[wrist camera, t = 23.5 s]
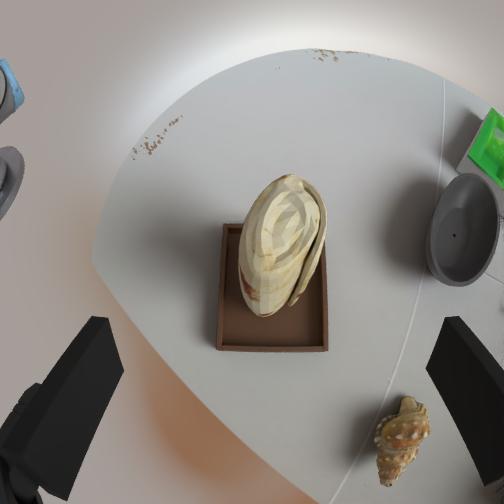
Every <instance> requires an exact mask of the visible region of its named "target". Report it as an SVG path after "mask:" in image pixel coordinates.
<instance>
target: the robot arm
mask: <svg viewBox="0 0 504 504" xmlns="http://www.w3.org/2000/svg"><path fill="white" fill-rule="evenodd" d="M23 102H24V94H23V92H22V90H21V88H20V86H19V84H18V82H17V80H16V78H15V76H14V74H13V72H12V70H11V68H10V66H9V65H8V63H7V62H6V60H5V59H1V60H0V124H1V123H2V122H3V121H4V120H5V119H6V118H7V117H8V116H10V115H11V114H12V113H14V112H15V111H16V109H17V108H18V107H19V106H21V105H22V103H23ZM7 172H8V166H7V163H6V161H5V160H4V159H3V158H2V157H0V192H1V190H2V188H3V186H4V183H5V180H6V177H7ZM425 369H426V370H427V372H428V374H429V376H430V377H431V379H432V381H433V383H434V384H435V386H436V388H437V390H438V392H439V393H440V395H441V397H442V399H443V401H444V403H445V405H446V406H447V408H448V410H449V412H450V414H451V416H452V418H453V420H454V422H455V424H456V426H457V428H458V430H459V432H460V434H461V436H462V438H463V440H464V442H465V444H466V446H467V448H468V450H469V452H470V455H471V457H472V459H473V461H474V463H475V466H476V468H477V470H478V472H479V475H480V477H481V479H482V482H483V484H484V486H485V487H486V486H488V485H490V484H492V483H493V482H495V481H497V480H499V479H500V478H501V477H503V476H504V370H503V369H502V368H501V366H500V365H499V364H498V362H497V361H496V360H495V359H494V357H493V356H492V355H491V354H490V352H489V351H488V350H487V349H486V347H485V346H484V345H483V344H482V342H481V341H480V340H479V339H478V338H477V336H476V335H475V334H474V333H473V332H472V331H471V329H470V328H469V327H468V326H467V325H466V324H465V322H464V321H463V320H462V319H461V318H460V317H459V316H453V317H445V319H444V322H443V325H442V328H441V331H440V333H439V336H438V339H437V341H436V344H435V347H434V349H433V352H432V354H431V357H430V359H429V361H428V364H427V366H426V368H425ZM123 372H124V369H123V366H122V363H121V360H120V357H119V354H118V350H117V347H116V344H115V340H114V337H113V333H112V330H111V327H110V323H109V319H108V318H105V317H95V316H91V318H90V319H89V320H88V321H87V323H86V324H85V325H84V327H83V328H82V329H81V331H80V332H79V333H78V335H77V336H76V337H75V339H74V340H73V341H72V342H71V344H70V345H69V347H68V348H67V349H66V351H65V352H64V353H63V355H62V356H61V357H60V359H59V360H58V362H57V363H56V364H55V366H54V367H53V369H52V370H51V371H50V373H49V374H48V376H47V377H46V379H45V380H44V381H43V383H42V384H39V383H35V384H34V385H32V386H31V387H30V388H28V389H27V390H26V391H25V392H24V393H23V395H22V396H21V398H20V399H19V401H18V404H16V405H15V407H14V408H13V412H11V413H10V414H9V416H8V417H7V419H6V420H5V422H4V423H3V425H2V427H1V428H0V504H43V502H42V498H41V496H40V494H39V492H38V491H37V490H38V487H39V485H40V486H41V487H42V488H43V489H44V490H45V491H46V492H48V493H49V494H51V495H53V496H56V497H58V498H60V499H63V500H65V501H67V500H68V497H69V494H70V492H71V490H72V487H73V484H74V482H75V479H76V477H77V474H78V472H79V469H80V467H81V465H82V462H83V460H84V457H85V455H86V453H87V450H88V448H89V446H90V443H91V441H92V439H93V437H94V434H95V432H96V430H97V427H98V425H99V423H100V421H101V419H102V417H103V414H104V412H105V410H106V407H107V406H108V403H109V401H110V399H111V397H112V395H113V393H114V391H115V389H116V387H117V384H118V382H119V380H120V378H121V376H122V374H123ZM503 487H504V481H503V482H502V483H501V484H500V485H499V486H498V487H497V488H496V490H495V492H498V491H499V490H500V489H502V488H503ZM500 493H502V494H503V498H502V501H501V504H504V489H503V490H502V491H501V492H500Z"/></svg>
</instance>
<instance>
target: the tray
mask: <svg viewBox="0 0 504 504" xmlns="http://www.w3.org/2000/svg"><path fill="white" fill-rule="evenodd" d="M456 170H457V171H458V172H459V173H460V174H464V173H473V174H476V175H478V176H480V177H481V178H483V179H484V180H485V181H486V182H487V183H488V184H489V186H490V187H491V189H492V190H493V192H494V194H495V197H496V199H497V203H498V207H499V213H500V215H501V216H502V217H503V218H504V118H503V117H502V116H501V115H500V114H499V113H497V112H496V111H495V110H494V109H493V108H491V110H490V111H489V113H488V114H487V116H486V117H485V118H484V120H483V122H482V123H481V125H480V127H479V129H478V131H477V133H476V135H475V137H474V139H473V140H472V142H471V144H470V146H469V148H468V149H467V151H466V153H465V155H464V156H463V158H462V160H461V162H460V163H459V165H458V167H457V168H456Z"/></svg>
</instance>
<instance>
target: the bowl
mask: <svg viewBox="0 0 504 504" xmlns="http://www.w3.org/2000/svg"><path fill="white" fill-rule="evenodd" d="M499 231H500V213H499V207H498V203H497V199H496V197H495V194H494V192H493V190H492V189H491V187H490V186H489V184H488V183H487V182H486V181H485V180H484V179H483V178H481V177H480V176H478V175H476V174H473V173H464V174H461V175H459V176H457V177H456V178H454V179H453V180H452V181H451V182H450V183H449V185H448V186H447V187H446V189H445V190H444V192H443V194H442V196H441V198H440V200H439V202H438V204H437V206H436V209H435V211H434V214H433V216H432V219H431V222H430V226H429V230H428V234H427V240H426V260H427V264H428V267H429V270H430V271H431V273H432V275H433V276H434V277H435V278H436V279H437V280H439V281H440V282H442V283H444V284H446V285H449V286H456V287H463V286H467V285H470V284H472V283H473V282H475V281H476V280H477V279H478V278H479V277H480V276H481V275H482V274H483V273H484V272H485V270H486V269H487V267H488V265H489V264H490V262H491V260H492V258H493V255H494V252H495V249H496V246H497V242H498V238H499Z"/></svg>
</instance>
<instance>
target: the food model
mask: <svg viewBox="0 0 504 504" xmlns="http://www.w3.org/2000/svg"><path fill="white" fill-rule="evenodd" d="M326 229H327V216H326V209H325V205H324V202H323V199H322V197H321V196H320V194H319V192H318V191H317V190H316V189H315V188H314V186H312V185H311V184H310V183H309V182H307V181H305V180H304V179H302V178H300V177H298V176H296V175H294V174H289V175H284V176H282V177H280V178H278V179H277V180H275V181H273V182H272V183H271V184H270V185H269V186H268V187H266V188H265V189H264V190H263V191H262V193H261V194H260V195H259V197H258V198H257V199H256V201H255V202H254V204H253V205H252V207H251V209H250V211H249V213H248V215H247V217H246V219H245V222H244V226H243V230H242V234H241V238H240V244H239V260H238V262H239V270H238V271H239V279H240V285H241V290H242V294H243V297H244V299H245V301H246V303H247V305H248V307H249V308H250V309H251V311H252V312H254V313H255V314H256V315H257V316H261V317H266V316H270V315H272V314H274V313H275V312H277V311H278V310H279V309H280V308H281V307H282V306H283V305H284V304H285V302H286V301H287V300H288V303H287V304H288V306H292V305H293V304H294V303H295V302H296V301H297V300H298V298H299V297H300V295H301V294H302V293H303V291H304V290H305V288H306V286H307V284H308V282H309V280H310V278H311V276H312V275H313V273H314V271H315V268H316V266H317V264H318V261H319V257H320V254H321V250H322V247H323V242H324V238H325V234H326ZM288 298H289V299H288Z"/></svg>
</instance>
